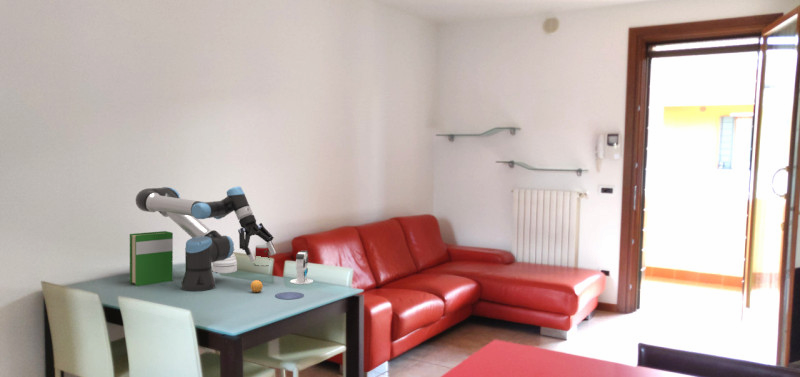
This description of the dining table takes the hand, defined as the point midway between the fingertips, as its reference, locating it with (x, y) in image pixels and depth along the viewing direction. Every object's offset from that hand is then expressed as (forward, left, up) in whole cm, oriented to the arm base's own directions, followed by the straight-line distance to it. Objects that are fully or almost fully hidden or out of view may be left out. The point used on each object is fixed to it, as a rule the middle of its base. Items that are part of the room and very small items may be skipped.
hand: (263, 257), depth 275 cm
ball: (+1, -8, -12) cm, 15 cm away
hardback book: (-55, -11, -15) cm, 58 cm away
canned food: (-30, +49, -15) cm, 59 cm away
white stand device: (+10, +20, -15) cm, 27 cm away
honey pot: (-40, +27, -15) cm, 50 cm away
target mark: (+18, -8, -15) cm, 25 cm away
